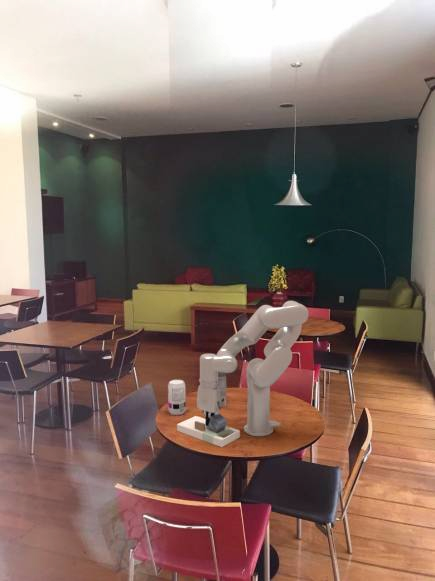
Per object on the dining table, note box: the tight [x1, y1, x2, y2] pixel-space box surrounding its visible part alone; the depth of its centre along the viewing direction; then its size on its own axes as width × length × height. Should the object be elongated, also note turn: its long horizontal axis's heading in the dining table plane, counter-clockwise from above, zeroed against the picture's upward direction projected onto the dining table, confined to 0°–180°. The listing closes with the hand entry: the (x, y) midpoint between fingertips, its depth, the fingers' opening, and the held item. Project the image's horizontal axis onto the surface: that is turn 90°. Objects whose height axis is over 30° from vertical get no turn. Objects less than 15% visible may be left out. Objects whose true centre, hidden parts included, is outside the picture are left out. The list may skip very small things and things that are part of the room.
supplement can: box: [167, 379, 187, 416], centre depth 224 cm, size 8×8×15 cm
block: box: [208, 413, 228, 434], centre depth 196 cm, size 5×5×5 cm
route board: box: [176, 415, 241, 448], centre depth 200 cm, size 25×12×6 cm, turn 50°
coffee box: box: [218, 372, 227, 407], centre depth 234 cm, size 9×6×16 cm
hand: (209, 425), depth 199 cm, fingers closed
